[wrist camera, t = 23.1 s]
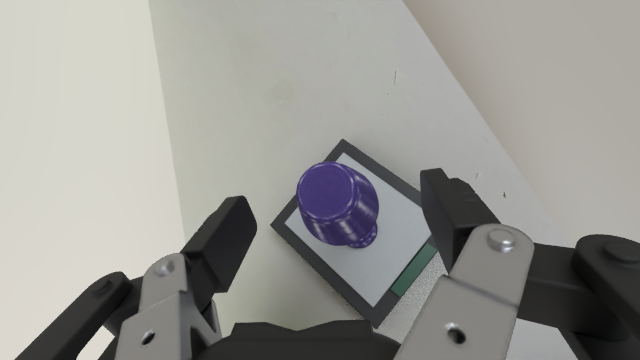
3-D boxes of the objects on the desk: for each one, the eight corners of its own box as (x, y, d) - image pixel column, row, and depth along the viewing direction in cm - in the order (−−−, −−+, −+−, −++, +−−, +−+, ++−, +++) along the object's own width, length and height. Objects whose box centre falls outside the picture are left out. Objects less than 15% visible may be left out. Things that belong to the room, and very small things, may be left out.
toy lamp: (328, 219, 27) (260, 182, 12) (362, 195, 27) (339, 126, 12) (353, 256, 26) (312, 271, 10) (389, 231, 26) (404, 207, 10)
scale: (455, 222, 27) (463, 220, 24) (376, 322, 26) (376, 331, 23) (345, 145, 33) (341, 136, 30) (277, 226, 32) (267, 224, 29)
